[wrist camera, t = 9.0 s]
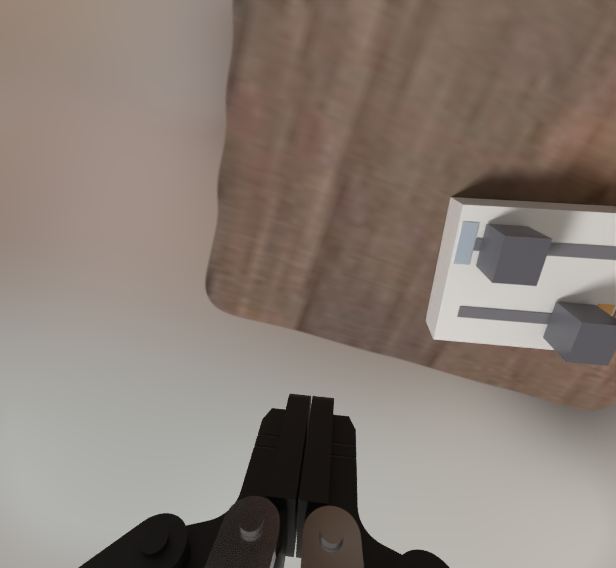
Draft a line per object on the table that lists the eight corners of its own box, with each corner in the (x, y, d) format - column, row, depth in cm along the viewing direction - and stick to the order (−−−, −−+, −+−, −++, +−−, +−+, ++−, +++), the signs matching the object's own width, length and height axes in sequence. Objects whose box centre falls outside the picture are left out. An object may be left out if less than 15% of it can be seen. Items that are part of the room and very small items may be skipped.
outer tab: (542, 337, 34) (566, 361, 30) (555, 301, 33) (582, 322, 29) (579, 340, 34) (607, 365, 30) (595, 304, 32) (626, 326, 29)
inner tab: (475, 265, 32) (492, 282, 28) (486, 223, 30) (505, 235, 27) (514, 268, 32) (536, 286, 28) (527, 226, 30) (552, 238, 26)
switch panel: (425, 320, 40) (433, 339, 36) (450, 197, 34) (463, 204, 30) (572, 332, 38) (596, 354, 34) (623, 206, 33) (659, 215, 29)
